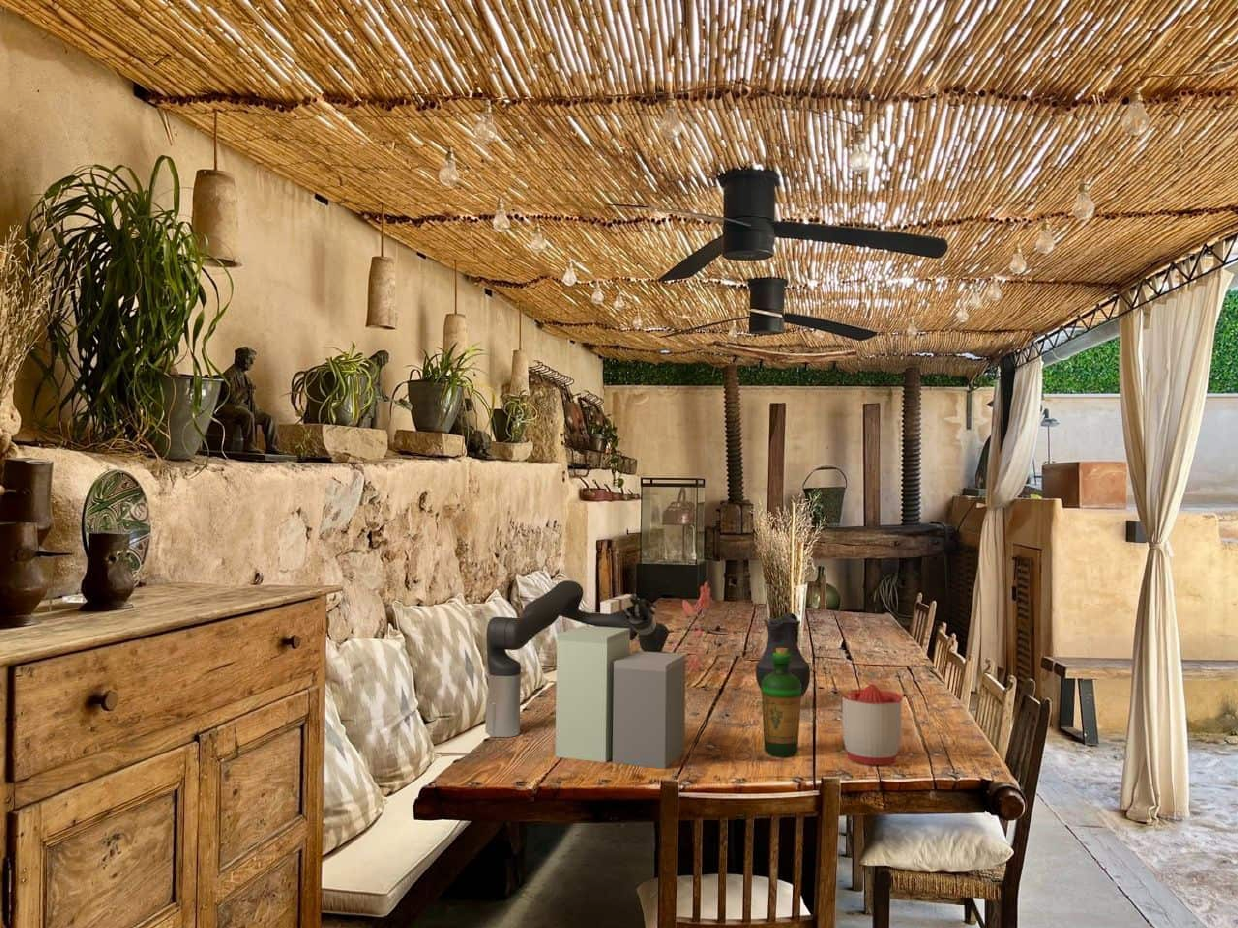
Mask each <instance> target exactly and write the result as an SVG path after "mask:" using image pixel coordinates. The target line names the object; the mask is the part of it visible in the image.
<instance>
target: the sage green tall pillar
mask: <svg viewBox="0 0 1238 928" xmlns="http://www.w3.org/2000/svg"><path fill="white" fill-rule="evenodd" d="M556 637H557V638H556V639H557V640H556V641H557V642H556V645H557V647H556V698H555V699H556V703H555V704H556V713H555V720H556V721H555V757H556V758H565V759H574V760H581V761H582V760H583V761H589V762H599V763H600V762H602V763H607V762H608V761H610V760H611V759H613V706H614V661H616V660H619V659H621V658H623V657H625V656H627V655H629V654H631V653H630V645H631V643H630V641H631V640H630V629H628V628H612V627H597V626H592V625H580V626H578V627H575V628H572V629H569V630H566V631H564V632H560V633H558V634H557V635H556Z"/></svg>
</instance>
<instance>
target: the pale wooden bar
mask: <svg viewBox="0 0 1238 928" xmlns="http://www.w3.org/2000/svg"><path fill="white" fill-rule="evenodd" d="M631 594H632V593H626V594H623V595H622V596H619V597H618V596H617V597H612V598H609V599H606V600H604V601H600V608H599V609H600V610H599V612H600V613H607V614H611V613H614V612H617V611H618V612H621V611H620V610H622V609H625V608H628V607H631V606H634V605H633V604H632V602H631V601H630V597H631ZM634 595H635V596H636V597H637V594H634Z"/></svg>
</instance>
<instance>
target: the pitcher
mask: <svg viewBox="0 0 1238 928" xmlns="http://www.w3.org/2000/svg"><path fill="white" fill-rule="evenodd" d="M763 621H764V624H765V626H766V631H767V641H766V648H765V650H764V652H763V655H762V657H761V658H760V660H759V661H758V662H757V663H756V667H755V675H756V676H755V677H756V682H757V684H758V687H759V688H760V691H762V681H763V679H764V678H765V676H767V675H768V674H770V673H771V672H774V664H773V663H772V662H771V660H772V656H773V653H776V648H787V649H788V651H787V653H790V655H791V660H792V663H790V667H789V672H790V673H792V674H793V675H795V676H796V677H797V678H798V679H799V681H800V683H801V698H802V697H803V696H804V695H805V694H806V692H807V690H808V688H809V686H810V680H811V671H810V670H811V669H810V668H811V667H810V665H809V663H808V661H806V660H805V659H804V657H803V655H802V653H801V651H800V649H799V646H798V637H799V625H800V624H801V621H800V620H798V618H797V616H796V614H795V613H794V612H789V611H788V612H786V613H784V614H783V615H782V616H781V617H780V618H779V617H778V618H775V617H774V618H764V619H763Z"/></svg>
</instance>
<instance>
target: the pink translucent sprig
mask: <svg viewBox="0 0 1238 928" xmlns="http://www.w3.org/2000/svg"><path fill="white" fill-rule="evenodd" d="M710 592H711V587H710V586H709V587H708V581H706V582H704V585H701V587H700V598H699V599H698V600H697V602H696V604H695V605H694V607H692V606H691V604H690V603H689V602H688V601H686V600H685V599H683V600H682V603H681V604H682V608H683V610H684V612H685V616H686V617H688V616H690V617H693V614H695V615H696V616H697V617H698V618H699V630H696V631H695V636H696V637H695V638H694V639H692V640H691V642H690V650H691V651H690V655H691V656H690V657H689V658H688V661H689V662H688V664H687V666H686V667H685V674H686V673H687V671H688V669H689V667H690V666H691V670H693V671H694V673H696V675H699V668H698V666H697V662H698V660H699V661H700V663H701V665H702V666H703V668H704V669H705V670H706V669H707V668H706V666H705V664H704V662H703V661H702V659H701V656H700V645H699V638H701V637H702V636H703V631H702V629H701V627H702V626H701V625H702V617H701V616H700V615H699V614H698V613H697V611H698V610H699V609H700V608H701V612H702V615H704V614H705V612H706V609H708V608H710V602H711V603H712V604H713V605H714V606H716V603H715V602H714V601H713V599H712V598H711V597H710V595H711V593H710ZM709 600H710V602H709ZM696 639H697V649H698V654H696V656H697V657H696V659H695V660H694V659H693V642H694V641H695V640H696ZM719 670H721V671H722V669H721V668H719ZM722 675H725V672H723V673H721V674H717V675H716V677H719V676H722Z"/></svg>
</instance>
